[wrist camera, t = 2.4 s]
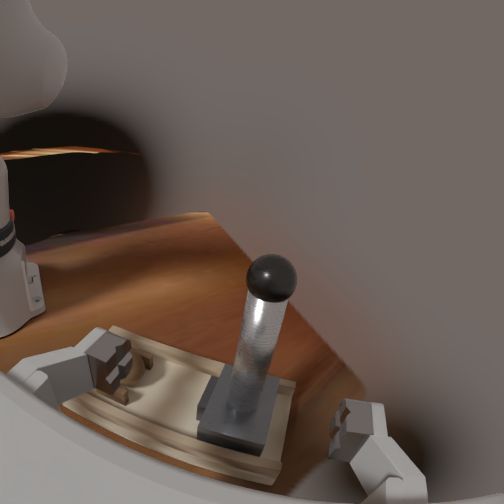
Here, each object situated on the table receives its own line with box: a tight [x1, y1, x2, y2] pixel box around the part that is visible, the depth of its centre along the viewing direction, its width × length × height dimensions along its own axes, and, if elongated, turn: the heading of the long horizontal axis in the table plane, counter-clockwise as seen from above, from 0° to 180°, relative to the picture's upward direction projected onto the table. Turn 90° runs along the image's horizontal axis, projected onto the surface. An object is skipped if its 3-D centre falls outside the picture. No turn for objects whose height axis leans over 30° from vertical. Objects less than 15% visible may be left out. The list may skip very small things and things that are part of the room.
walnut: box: [120, 350, 145, 386], centre depth 30 cm, size 4×4×4 cm
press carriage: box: [196, 254, 297, 457], centre depth 26 cm, size 7×9×18 cm
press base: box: [63, 326, 296, 486], centre depth 30 cm, size 23×12×4 cm, turn 78°
